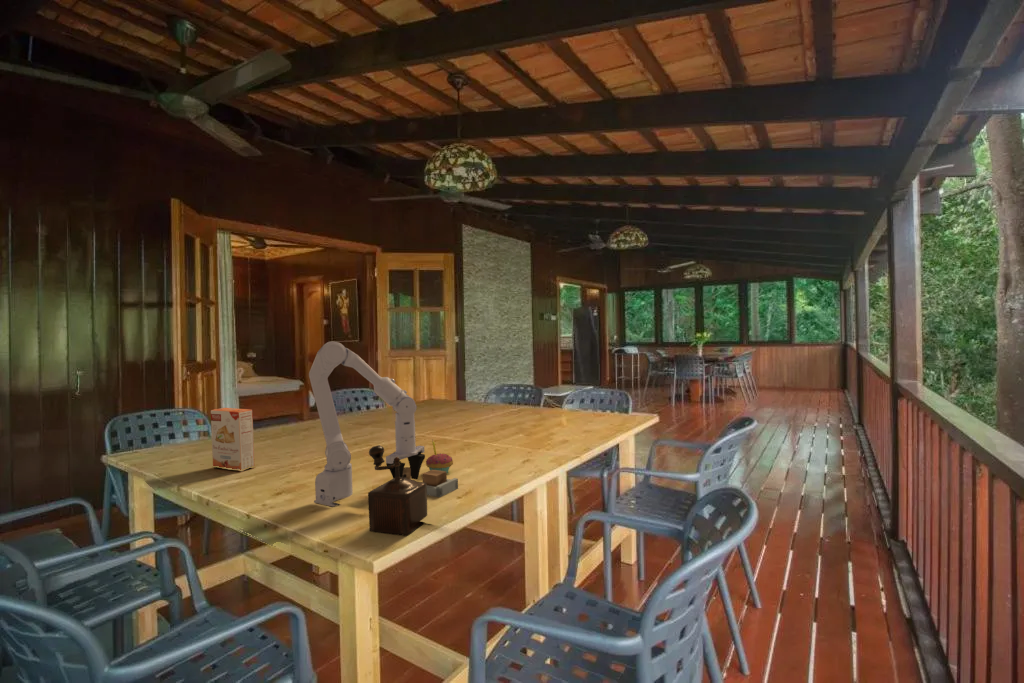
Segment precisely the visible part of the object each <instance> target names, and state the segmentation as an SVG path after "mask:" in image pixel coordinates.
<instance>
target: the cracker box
mask: <svg viewBox="0 0 1024 683" xmlns="http://www.w3.org/2000/svg"><path fill="white" fill-rule="evenodd" d="M253 416H254V414H253V409H247V408H234V407H222V408H215V409H211V410H210V425H211V426H210V427H211V449H212V453H211V454H212V467H213V466H219V467H226V468H232V469H240V470H241V469H245V468H248V467H252V466H255V446H254V442H255V440H254V421H253V419H254V418H253Z"/></svg>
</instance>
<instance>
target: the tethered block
mask: <svg viewBox="0 0 1024 683" xmlns="http://www.w3.org/2000/svg"><path fill="white" fill-rule="evenodd" d="M404 474H406V475H407V477H406V478H407V479H411V468H410V466H406V467H405V466H404V470H403V475H404ZM447 474H448V473H446V472H445V471H439V470H430V469H429V470H428V471H426V472H423V473H422V482H425V483H426V484H427V485H429V486H434V487H436V486H438V485H440V484H442V483H445V482H447V479H448V475H447ZM411 480H412V479H411Z"/></svg>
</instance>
